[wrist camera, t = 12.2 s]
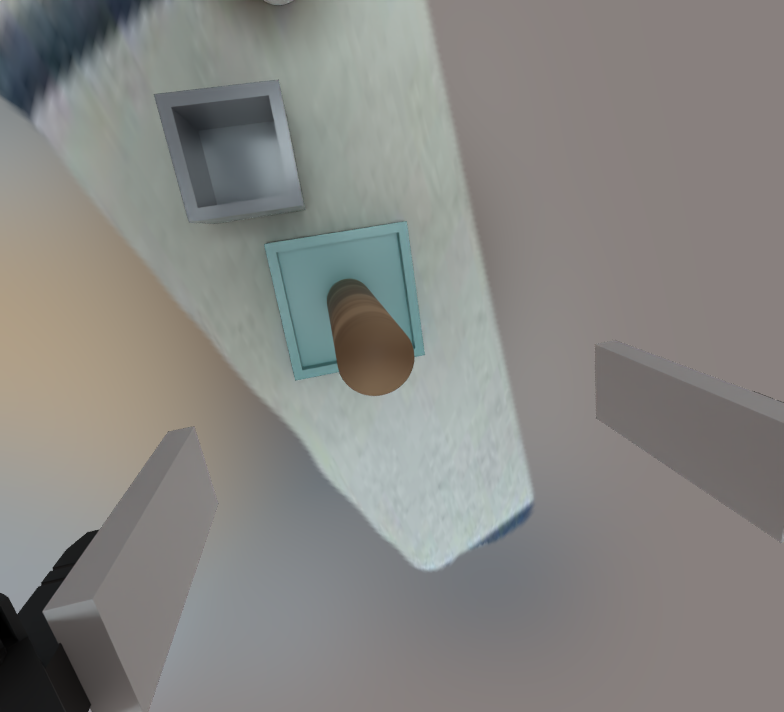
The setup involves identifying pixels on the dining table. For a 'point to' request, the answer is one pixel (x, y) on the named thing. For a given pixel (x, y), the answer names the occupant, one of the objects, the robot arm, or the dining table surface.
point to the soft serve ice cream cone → (278, 2)
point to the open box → (231, 151)
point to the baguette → (367, 340)
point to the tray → (325, 268)
